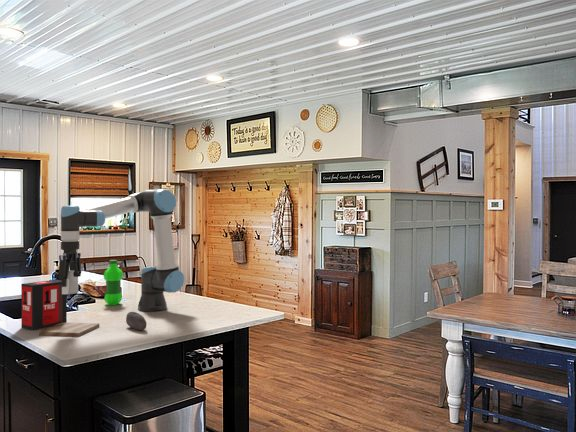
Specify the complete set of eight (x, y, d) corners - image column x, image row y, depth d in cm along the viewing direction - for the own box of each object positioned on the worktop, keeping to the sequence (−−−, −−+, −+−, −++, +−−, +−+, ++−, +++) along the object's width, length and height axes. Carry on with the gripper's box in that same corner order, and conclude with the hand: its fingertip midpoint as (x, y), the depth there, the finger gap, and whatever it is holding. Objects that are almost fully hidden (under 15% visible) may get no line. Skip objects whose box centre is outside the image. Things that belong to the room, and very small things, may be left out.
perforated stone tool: (150, 331, 222) (150, 315, 222) (139, 333, 218) (139, 317, 218) (136, 325, 233) (136, 310, 233) (125, 327, 230) (125, 311, 229)
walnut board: (99, 326, 230) (99, 323, 230) (78, 336, 212) (78, 332, 212) (62, 325, 232) (62, 322, 232) (38, 335, 214) (38, 331, 214)
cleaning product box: (55, 321, 241) (55, 279, 241) (66, 323, 236) (66, 281, 236) (21, 328, 227) (21, 283, 227) (32, 330, 222) (32, 285, 222)
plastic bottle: (99, 305, 282) (99, 260, 282) (112, 302, 292) (112, 259, 292) (113, 306, 279) (113, 261, 278) (126, 303, 288) (126, 259, 288)
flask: (64, 292, 225) (64, 269, 225) (81, 291, 225) (81, 269, 225) (58, 294, 218) (58, 271, 218) (76, 294, 218) (76, 271, 218)
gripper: (74, 239, 232) (74, 289, 232) (48, 242, 212) (48, 296, 212) (89, 239, 231) (89, 289, 231) (65, 242, 211) (65, 296, 211)
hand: (70, 292), depth 222 cm, fingers closed on flask, 7 cm apart
